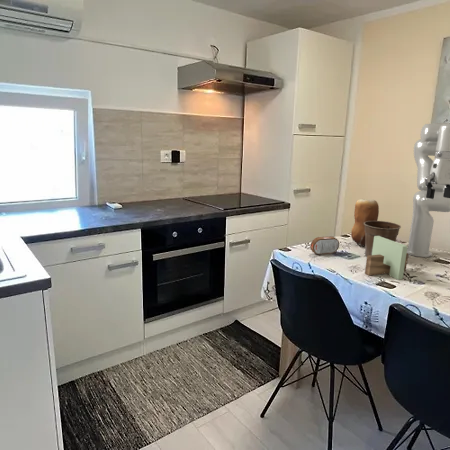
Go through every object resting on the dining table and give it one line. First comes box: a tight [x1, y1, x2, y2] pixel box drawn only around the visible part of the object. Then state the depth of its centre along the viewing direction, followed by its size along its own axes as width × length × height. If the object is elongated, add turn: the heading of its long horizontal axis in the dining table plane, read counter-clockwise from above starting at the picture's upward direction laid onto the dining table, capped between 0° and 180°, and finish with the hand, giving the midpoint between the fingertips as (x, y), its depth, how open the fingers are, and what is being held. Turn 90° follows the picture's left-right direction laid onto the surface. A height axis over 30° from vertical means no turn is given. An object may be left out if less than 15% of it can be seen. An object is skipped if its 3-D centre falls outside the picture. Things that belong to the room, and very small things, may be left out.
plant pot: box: [364, 220, 402, 257], centre depth 177 cm, size 16×16×16 cm
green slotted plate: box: [372, 236, 408, 280], centre depth 156 cm, size 16×2×14 cm, turn 20°
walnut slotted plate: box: [364, 253, 409, 277], centre depth 157 cm, size 2×20×8 cm, turn 111°
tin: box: [310, 235, 340, 255], centre depth 180 cm, size 15×3×8 cm, turn 108°
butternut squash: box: [350, 198, 380, 247], centre depth 194 cm, size 14×13×25 cm
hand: (438, 198), depth 153 cm, fingers open, 9 cm apart
